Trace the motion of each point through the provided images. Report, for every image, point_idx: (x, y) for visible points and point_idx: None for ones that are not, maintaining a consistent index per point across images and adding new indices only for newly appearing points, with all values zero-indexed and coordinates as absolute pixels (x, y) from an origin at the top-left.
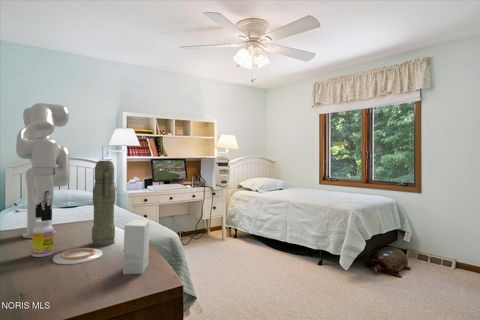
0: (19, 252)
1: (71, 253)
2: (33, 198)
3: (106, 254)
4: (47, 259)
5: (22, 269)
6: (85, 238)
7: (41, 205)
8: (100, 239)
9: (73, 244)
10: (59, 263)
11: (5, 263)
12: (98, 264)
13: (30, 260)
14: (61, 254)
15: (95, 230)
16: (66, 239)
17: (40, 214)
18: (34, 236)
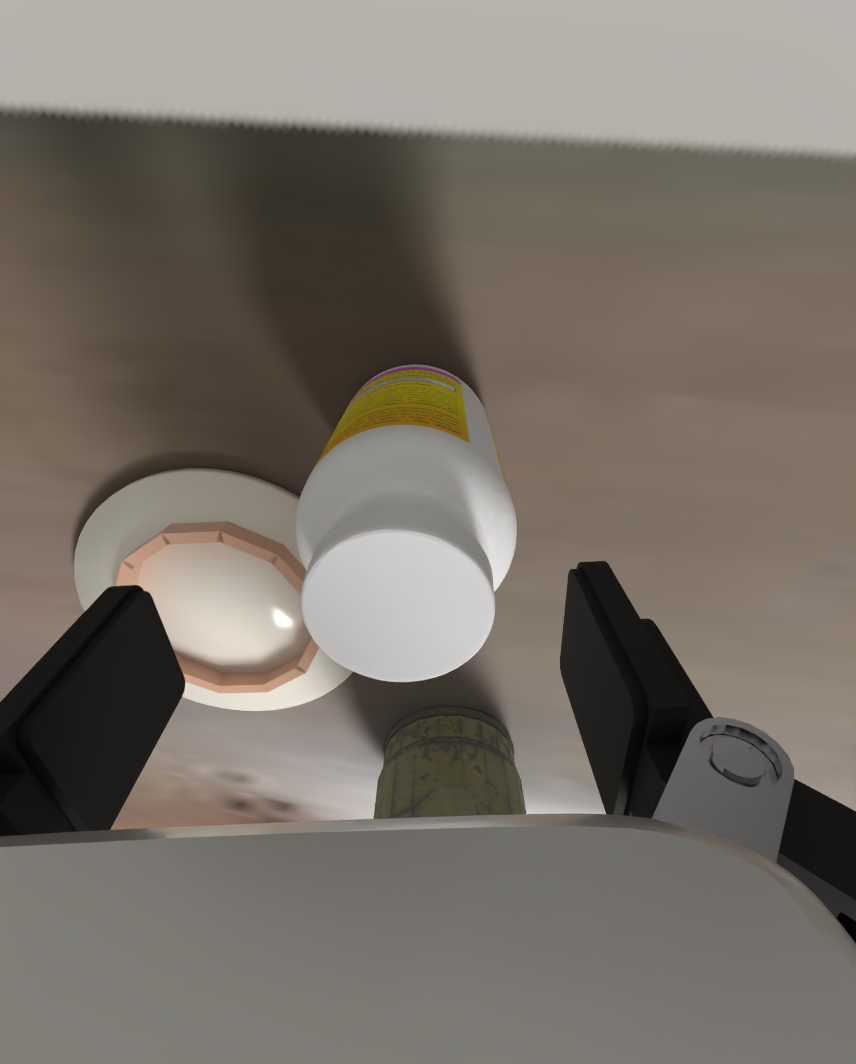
0: (625, 284)
1: (285, 585)
2: (535, 1020)
3: (203, 709)
4: (267, 445)
5: (82, 257)
6: None
7: (644, 817)
8: (387, 765)
9: (554, 636)
10: (117, 491)
11: (326, 134)
12: (28, 643)
13: (305, 338)
14: (217, 533)
15: (408, 809)
16: (737, 630)
17: (575, 645)
18: (351, 426)
